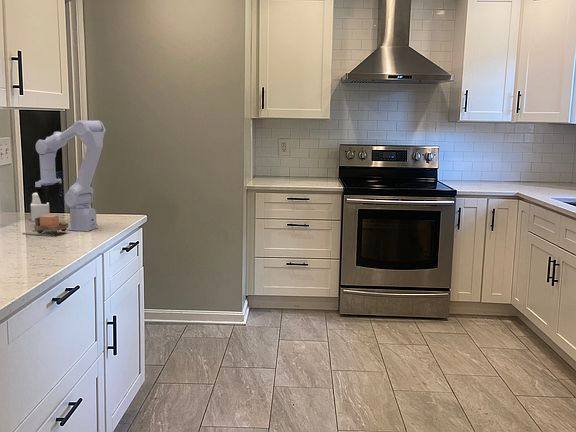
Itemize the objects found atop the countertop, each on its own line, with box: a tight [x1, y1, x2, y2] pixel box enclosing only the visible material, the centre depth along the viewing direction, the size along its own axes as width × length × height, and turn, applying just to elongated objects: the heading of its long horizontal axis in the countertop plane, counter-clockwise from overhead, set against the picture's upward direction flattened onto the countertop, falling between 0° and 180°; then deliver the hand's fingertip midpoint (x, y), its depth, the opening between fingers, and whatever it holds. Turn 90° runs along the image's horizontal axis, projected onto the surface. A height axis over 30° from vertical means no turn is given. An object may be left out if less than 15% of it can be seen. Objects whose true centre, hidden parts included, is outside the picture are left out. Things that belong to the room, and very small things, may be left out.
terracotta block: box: [40, 214, 60, 227], centre depth 218 cm, size 4×4×5 cm
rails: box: [21, 229, 64, 237], centre depth 220 cm, size 13×7×1 cm, turn 78°
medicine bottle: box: [29, 191, 51, 222], centre depth 248 cm, size 7×7×12 cm
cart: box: [34, 217, 69, 236], centre depth 219 cm, size 9×8×6 cm
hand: (49, 202), depth 235 cm, fingers open, 7 cm apart
